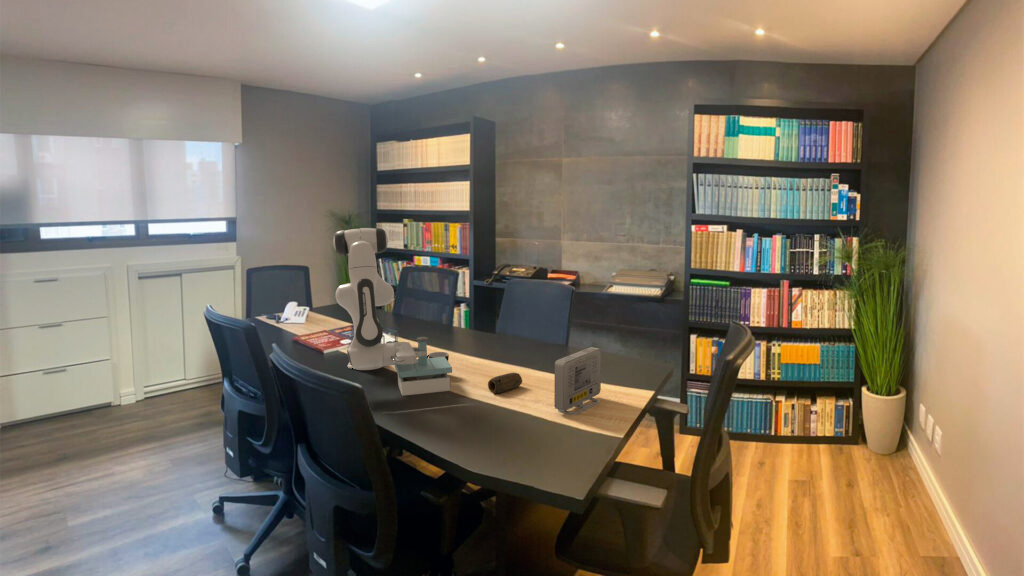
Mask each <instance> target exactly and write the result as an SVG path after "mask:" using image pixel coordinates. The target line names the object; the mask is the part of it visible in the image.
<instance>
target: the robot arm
mask: <svg viewBox="0 0 1024 576" xmlns="http://www.w3.org/2000/svg"><path fill="white" fill-rule="evenodd" d="M332 245H333V249H334V251H335V253H337V254H338V255H339V256H343V257H344V258H346V256H348V263H347V264H348V275H349V282H350V283H349V282H347V283H343V284H341V285H338V287H337V288H336V291H335V300H336V302H337V304H338V305H339V306H340V307H342V308H343V309H344V310H346V311H347V313H348V314H349V315H350V317H351V319H352V323H353V331H354V336H353V338H352V341H351V343H350V345H349V347H348V348H347V349H346V354H347V358H348V361H349V362H348V364H347V366H346V367H348V368H347V369H352V368H353V370H357V371H372V370H378V369H381V368H383V367H388V366H389V367H390V366H395V362H397V364H415V363H416V362H417V359H418V357H420V356H425V355H426V352H425V351H419V352H418V346H412V344H411V343H410V342H409V341H408V342H407V341H390V340H389V341H388V340H387V341H386V342H385V343H382V341H381V340H382V339H383V336H384V332H383V327H382V326H381V323H380V321H379V319H378V317H377V308H376V307H382V306H386V305H389V304H391V303H392V302H393V300H394V298H395V289H394V288H393V286H392V285H391V284H390V283H389V282H387V281H385V280H384V279H383V278H382V277H381V276H380V275H379V272H378V267H377V265H378V263H377V259H376V254H380V253H385V252H386V250H387V249H388V246H389V236H388V234H387V232H386V230H385V229H383V228H380V227H375V228H374V227H373V228H372V227H360V228H352V229H347V230H346V229H342V230H337V231H336V232H335V233H334V236H333V240H332Z"/></svg>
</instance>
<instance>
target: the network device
mask: <svg viewBox="0 0 1024 576" xmlns="http://www.w3.org/2000/svg"><path fill="white" fill-rule="evenodd" d="M601 373H602V349H601V348H599V347H598V348H597V347H592V346H591V347H587V348H585V349H583V350H580V351H577V352H575V353H572V354H569V355H567V356H563V357H561V358H559V359H557V360H555V362H554V400H553V401H554V409H556V410H557V411H558V412H559V413H562V414H566V415H569V416H570V415H571V416H577V415H579V414H582V413H583V412H585V411H587V410H589V409H591V408H592V407H594V406H596V405H598V404H600V400H599V398H594V397H596V396H598V395H600V393H601V390H602V388H601V387H602V386H601V384H602V383H601V382H602V376H601ZM587 401H593V403H590V404H585V403H584V402H587ZM573 408H579V410H577V411H573V412H572V411H569V410H570V409H573Z"/></svg>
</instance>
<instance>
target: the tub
mask: <svg viewBox="0 0 1024 576" xmlns="http://www.w3.org/2000/svg"><path fill="white" fill-rule="evenodd" d="M414 377H415V378H417V380H414V381H404V377H402V378H399V376H398V375H397V385H398V388H399V391H400V393H401V395H402V397H403V396H412V395H413V396H414V395H422V394H430V393H440V392H448V391H449V392H450V391H451V385H450V384H451V383H450V381H451V379H450V376H449V374H448V373H444V374H434V375H423V376H414ZM433 377H436V378H434V379H432V378H433Z"/></svg>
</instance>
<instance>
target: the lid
mask: <svg viewBox="0 0 1024 576" xmlns="http://www.w3.org/2000/svg"><path fill="white" fill-rule="evenodd" d="M416 341H417V347H418V352H419V351H425V352H426V355H425V356H420V357H417V362H416V363H415V364H397V362H395V365H394V369H395V370H396V373H397V377H398V376H399V378H402V377H413V376H423V375H434V374H444V373H447V374H451V373H453V367H452V365H451V363H449V360H448V361H447V359H446V358H445V357H436V358H429V357H428V358H427V356H428V352H427V349H428V348H427V345H428V344H427V343H428V336H427V337H426V336H418V337H417V338H416Z"/></svg>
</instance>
